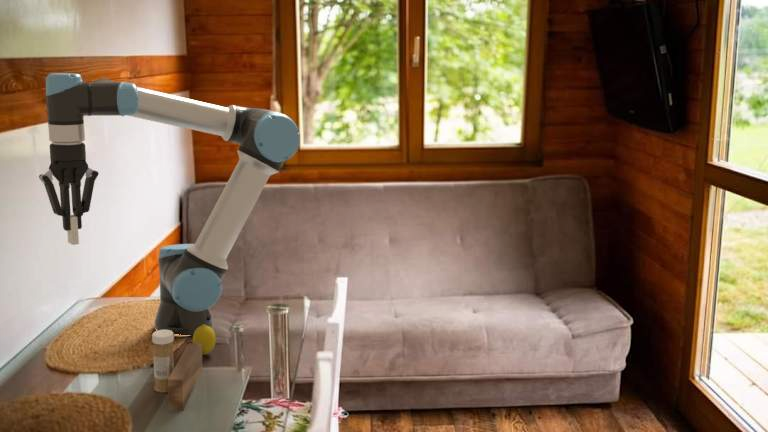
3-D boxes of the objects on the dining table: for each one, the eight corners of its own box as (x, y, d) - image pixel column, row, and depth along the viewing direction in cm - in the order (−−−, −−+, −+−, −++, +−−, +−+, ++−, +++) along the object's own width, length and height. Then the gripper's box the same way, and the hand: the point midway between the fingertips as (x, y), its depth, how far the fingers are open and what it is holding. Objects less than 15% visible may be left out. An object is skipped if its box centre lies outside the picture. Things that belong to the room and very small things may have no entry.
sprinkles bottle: (179, 386, 176) (177, 330, 173) (166, 395, 172) (165, 338, 168) (162, 382, 177) (160, 327, 174) (149, 391, 173) (147, 334, 170)
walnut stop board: (168, 410, 165) (167, 379, 163) (189, 371, 184) (189, 343, 183) (183, 410, 165) (182, 379, 163) (202, 371, 184) (201, 343, 183)
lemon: (205, 348, 198) (204, 319, 196) (220, 354, 195) (220, 324, 193) (188, 355, 193) (187, 325, 191) (203, 361, 190) (202, 330, 188)
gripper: (89, 138, 184) (94, 236, 189) (31, 142, 175) (38, 244, 180) (102, 142, 178) (107, 242, 183) (43, 146, 170) (50, 251, 175)
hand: (73, 243), depth 182 cm, fingers closed
